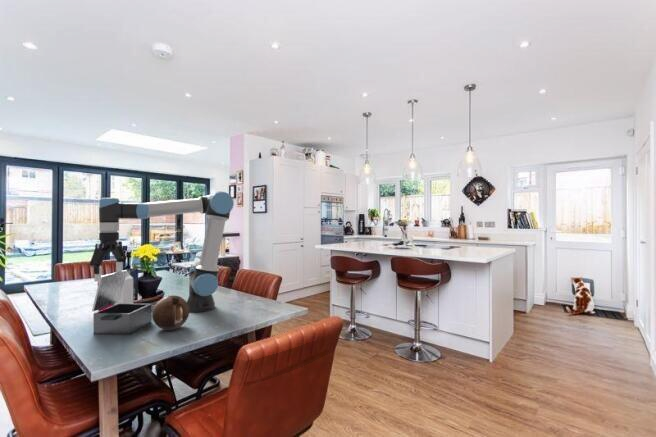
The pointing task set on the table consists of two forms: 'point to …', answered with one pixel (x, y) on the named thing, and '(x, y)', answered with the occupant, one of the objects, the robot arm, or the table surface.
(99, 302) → the lid
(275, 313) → the table surface
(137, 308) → the gray box
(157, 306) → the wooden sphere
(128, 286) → the milk
